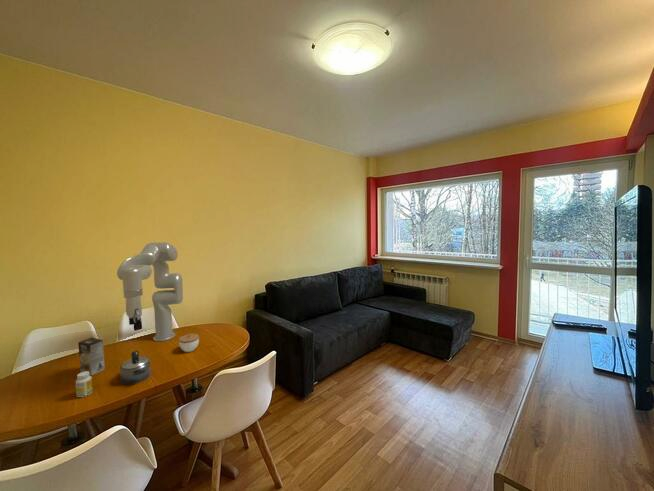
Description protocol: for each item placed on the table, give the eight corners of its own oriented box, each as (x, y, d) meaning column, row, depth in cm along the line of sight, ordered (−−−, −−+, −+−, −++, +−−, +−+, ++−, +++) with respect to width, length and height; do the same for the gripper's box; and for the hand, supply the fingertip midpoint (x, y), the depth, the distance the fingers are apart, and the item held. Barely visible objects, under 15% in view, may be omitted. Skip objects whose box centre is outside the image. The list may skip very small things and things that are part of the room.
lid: (119, 363, 133) (118, 352, 132) (145, 355, 141) (144, 344, 140) (124, 372, 125) (123, 360, 125) (151, 363, 133) (151, 352, 133)
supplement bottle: (77, 399, 117) (75, 378, 116) (75, 394, 120) (73, 374, 119) (93, 393, 121) (92, 373, 120) (91, 388, 124) (89, 368, 123)
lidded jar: (203, 346, 167) (202, 331, 166) (192, 354, 156) (192, 339, 155) (186, 345, 168) (186, 330, 167) (175, 353, 157) (174, 338, 156)
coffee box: (79, 372, 137) (77, 342, 136) (94, 366, 143) (91, 337, 142) (91, 375, 134) (89, 344, 133) (105, 369, 140) (103, 339, 139)
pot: (117, 375, 135) (116, 362, 134) (146, 366, 143) (145, 353, 143) (125, 389, 123) (124, 375, 123) (155, 378, 132) (154, 365, 132)
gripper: (120, 291, 135) (122, 324, 137) (127, 298, 123) (130, 334, 125) (138, 288, 140) (140, 320, 142) (147, 295, 128) (149, 329, 130)
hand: (135, 326), depth 133 cm, fingers open, 9 cm apart
